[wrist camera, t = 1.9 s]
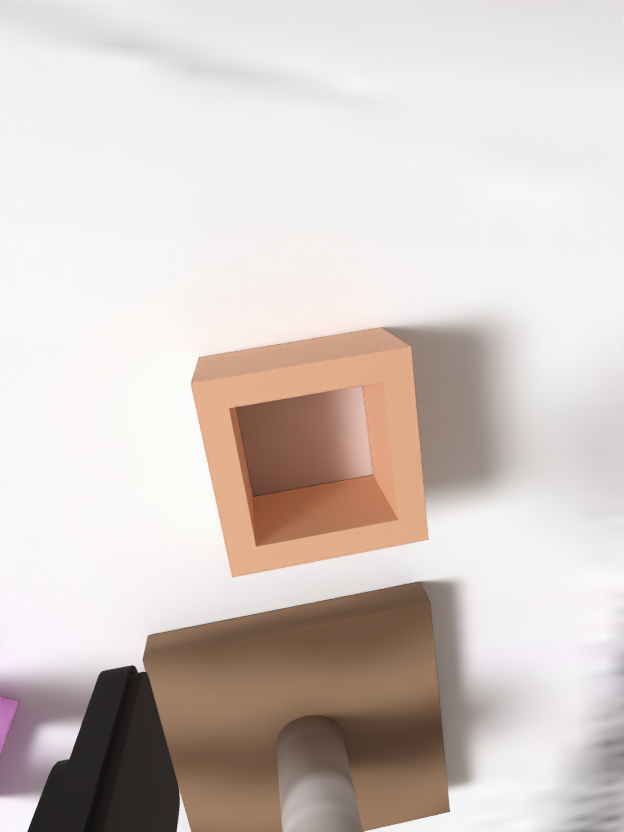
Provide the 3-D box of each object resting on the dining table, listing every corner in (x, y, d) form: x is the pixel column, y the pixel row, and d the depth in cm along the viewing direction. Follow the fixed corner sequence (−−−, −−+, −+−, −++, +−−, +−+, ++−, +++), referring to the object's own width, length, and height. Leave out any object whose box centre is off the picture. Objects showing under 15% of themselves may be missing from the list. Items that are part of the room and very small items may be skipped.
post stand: (148, 635, 25) (112, 794, 18) (419, 582, 26) (488, 713, 19) (203, 836, 29) (192, 1035, 22) (439, 784, 30) (503, 957, 23)
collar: (198, 357, 22) (190, 383, 18) (381, 327, 22) (411, 346, 19) (232, 523, 24) (232, 577, 20) (398, 492, 24) (428, 539, 21)
